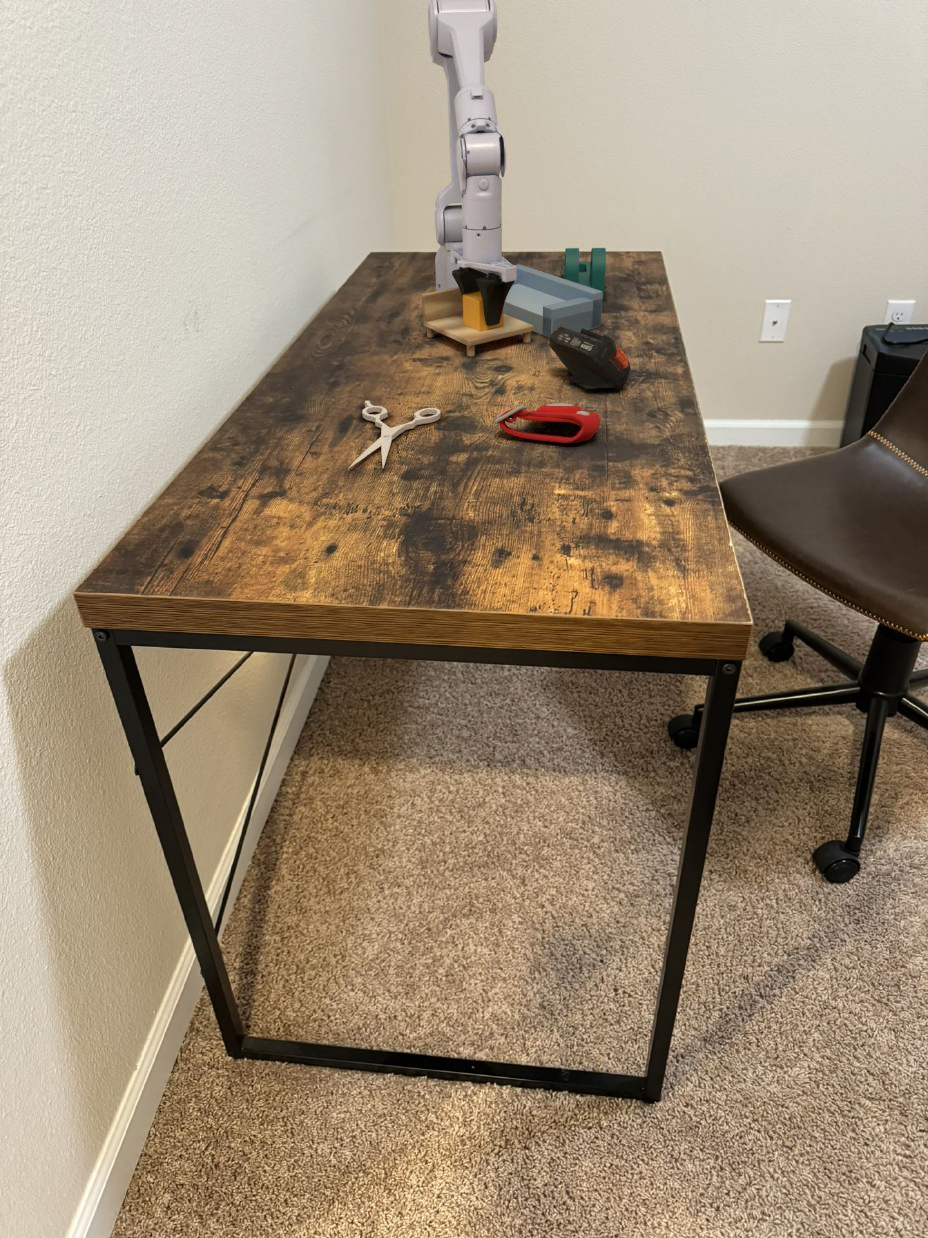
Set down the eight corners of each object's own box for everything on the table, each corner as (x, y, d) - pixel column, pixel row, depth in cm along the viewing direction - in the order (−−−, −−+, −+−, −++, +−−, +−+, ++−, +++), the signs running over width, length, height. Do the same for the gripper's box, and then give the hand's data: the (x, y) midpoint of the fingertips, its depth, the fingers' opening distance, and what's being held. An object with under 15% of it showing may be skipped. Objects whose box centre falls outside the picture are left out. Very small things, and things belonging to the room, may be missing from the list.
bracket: (603, 300, 158) (606, 252, 154) (564, 300, 159) (566, 253, 154) (598, 273, 173) (600, 229, 168) (562, 273, 173) (564, 229, 169)
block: (463, 324, 141) (462, 294, 138) (487, 318, 143) (486, 289, 140) (479, 331, 138) (479, 301, 135) (503, 325, 140) (503, 295, 137)
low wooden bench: (423, 336, 145) (421, 293, 141) (486, 321, 150) (485, 280, 146) (469, 357, 136) (468, 313, 132) (534, 341, 141) (534, 298, 137)
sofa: (472, 306, 157) (471, 273, 154) (519, 296, 162) (519, 264, 158) (551, 338, 142) (552, 302, 139) (600, 326, 146) (602, 291, 143)
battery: (611, 409, 122) (644, 369, 122) (580, 367, 117) (615, 326, 117) (559, 391, 131) (590, 354, 131) (529, 351, 126) (561, 313, 126)
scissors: (444, 403, 119) (410, 469, 103) (444, 409, 119) (411, 475, 103) (365, 400, 120) (320, 464, 104) (366, 406, 121) (320, 470, 105)
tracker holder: (559, 401, 117) (617, 404, 110) (558, 436, 119) (615, 441, 111) (486, 402, 110) (543, 406, 103) (486, 440, 111) (541, 446, 104)
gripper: (432, 221, 135) (436, 314, 143) (487, 238, 125) (488, 337, 133) (471, 214, 139) (473, 306, 146) (529, 231, 129) (527, 328, 136)
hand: (483, 320), depth 140 cm, fingers closed on block, 4 cm apart
